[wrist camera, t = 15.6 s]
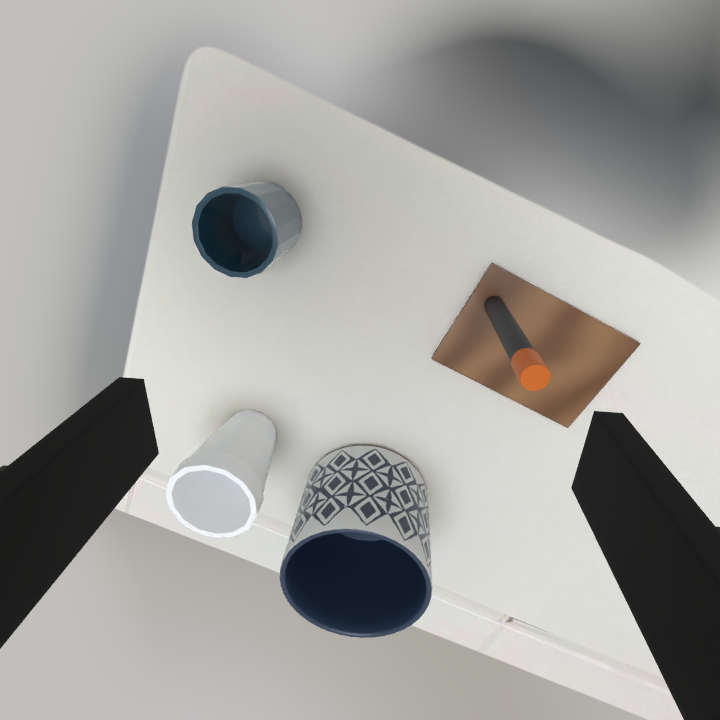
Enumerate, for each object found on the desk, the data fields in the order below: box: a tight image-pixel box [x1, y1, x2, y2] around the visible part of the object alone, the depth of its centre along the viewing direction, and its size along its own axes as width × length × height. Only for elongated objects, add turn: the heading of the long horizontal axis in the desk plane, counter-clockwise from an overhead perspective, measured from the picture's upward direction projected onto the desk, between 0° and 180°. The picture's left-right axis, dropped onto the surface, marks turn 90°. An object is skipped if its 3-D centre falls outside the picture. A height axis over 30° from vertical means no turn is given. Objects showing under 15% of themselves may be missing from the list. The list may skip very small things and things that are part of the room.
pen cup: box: [192, 182, 301, 278], centre depth 42 cm, size 7×7×9 cm
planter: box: [280, 445, 432, 638], centre depth 53 cm, size 16×16×14 cm
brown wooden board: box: [432, 263, 640, 428], centre depth 48 cm, size 18×12×1 cm, turn 64°
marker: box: [484, 296, 551, 391], centre depth 39 cm, size 2×2×17 cm
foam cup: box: [166, 410, 276, 538], centre depth 51 cm, size 10×9×13 cm
